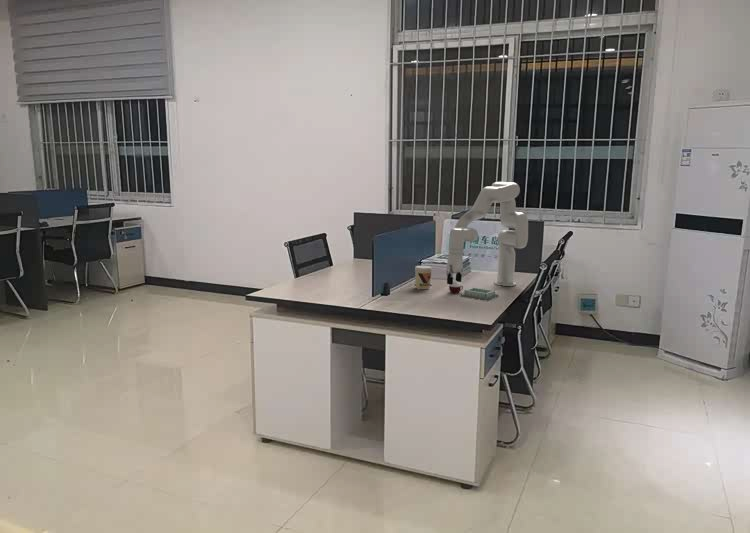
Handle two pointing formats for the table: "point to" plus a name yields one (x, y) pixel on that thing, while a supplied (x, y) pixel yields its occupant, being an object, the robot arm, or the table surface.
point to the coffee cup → (423, 277)
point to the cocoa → (455, 287)
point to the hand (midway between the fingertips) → (454, 282)
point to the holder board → (479, 293)
